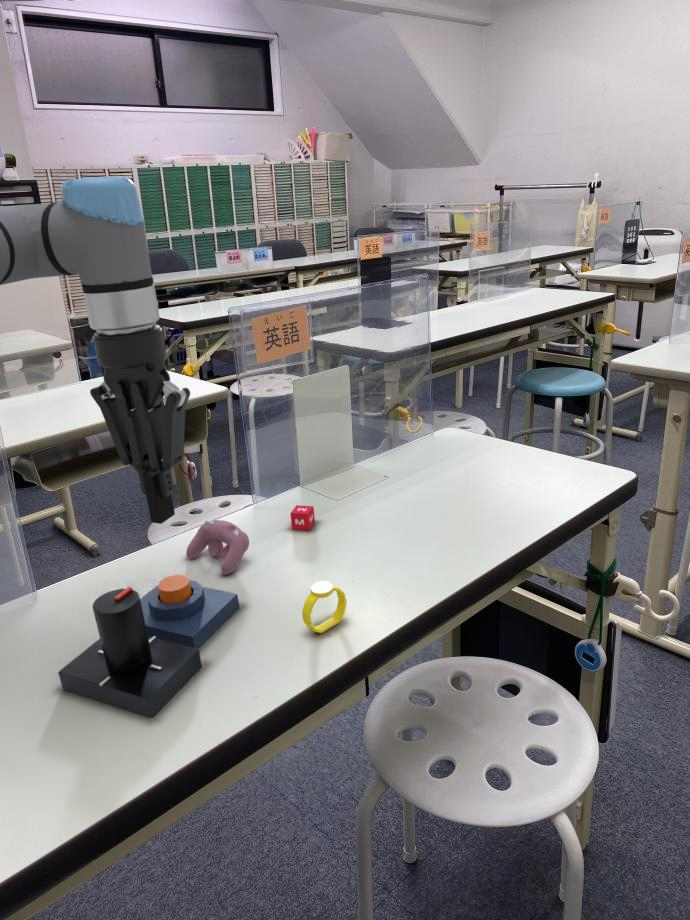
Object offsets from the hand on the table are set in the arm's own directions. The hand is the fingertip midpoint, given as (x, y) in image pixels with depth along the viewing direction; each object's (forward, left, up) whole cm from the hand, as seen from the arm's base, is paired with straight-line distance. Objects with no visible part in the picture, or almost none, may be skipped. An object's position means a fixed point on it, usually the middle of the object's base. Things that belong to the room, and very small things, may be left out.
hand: (163, 518), depth 84 cm
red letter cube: (+3, +29, -15) cm, 33 cm away
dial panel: (+2, -12, -15) cm, 19 cm away
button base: (0, 0, -15) cm, 15 cm away
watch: (+19, +5, -15) cm, 25 cm away
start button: (0, 0, -11) cm, 11 cm away
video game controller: (-4, +15, -15) cm, 22 cm away
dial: (+2, -12, -12) cm, 17 cm away
